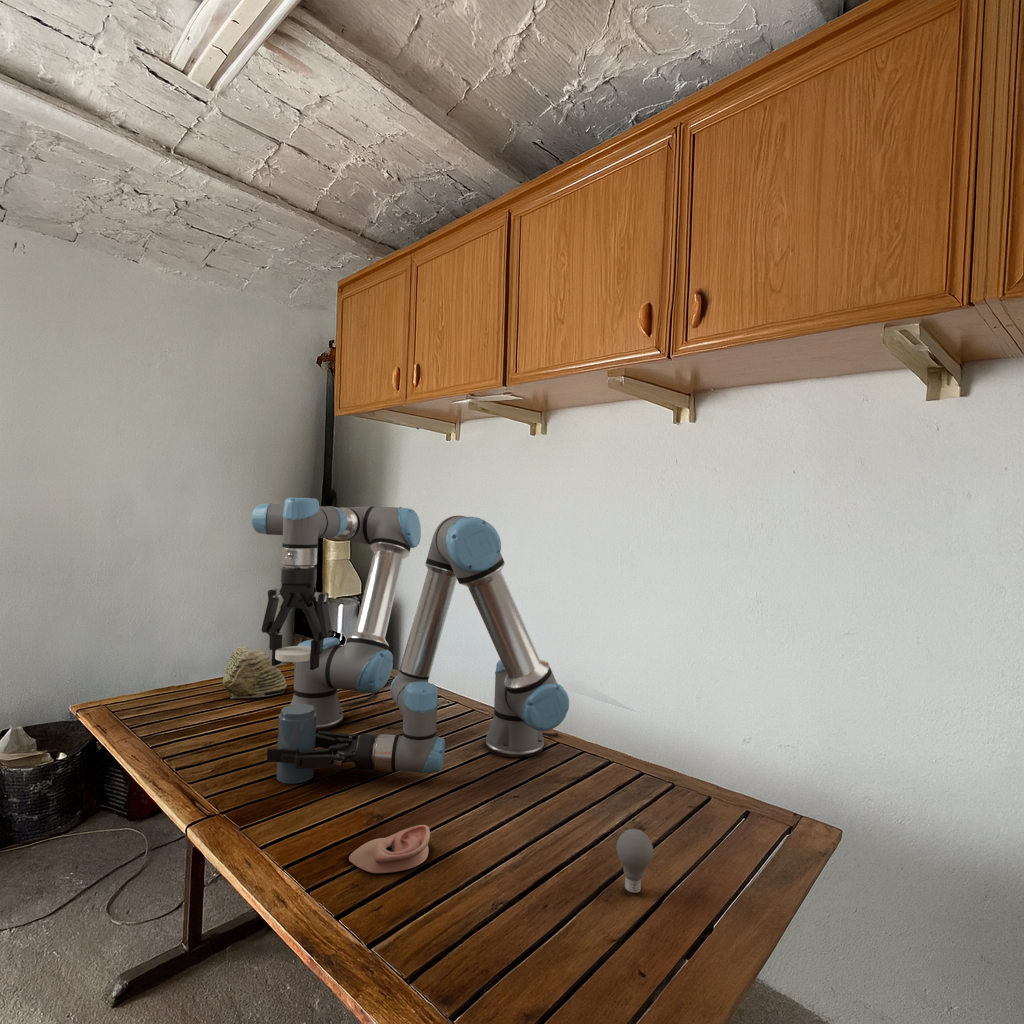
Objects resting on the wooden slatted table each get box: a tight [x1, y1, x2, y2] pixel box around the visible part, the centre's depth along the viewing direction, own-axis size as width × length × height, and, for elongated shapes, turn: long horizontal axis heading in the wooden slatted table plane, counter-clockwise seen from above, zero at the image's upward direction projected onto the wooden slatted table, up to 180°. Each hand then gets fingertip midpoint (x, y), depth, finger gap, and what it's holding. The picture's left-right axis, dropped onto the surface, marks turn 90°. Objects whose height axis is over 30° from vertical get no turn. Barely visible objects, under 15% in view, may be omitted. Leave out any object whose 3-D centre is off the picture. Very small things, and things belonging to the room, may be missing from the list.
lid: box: [275, 645, 311, 663], centre depth 142 cm, size 9×9×2 cm
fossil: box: [222, 646, 288, 699], centre depth 198 cm, size 9×18×15 cm, turn 132°
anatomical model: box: [348, 824, 431, 874], centre depth 113 cm, size 13×4×12 cm
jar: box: [275, 704, 317, 785], centre depth 143 cm, size 8×8×15 cm
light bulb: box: [615, 828, 654, 894], centre depth 106 cm, size 6×6×10 cm
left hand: (295, 666), depth 143 cm, fingers closed on lid, 9 cm apart
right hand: (275, 747), depth 143 cm, fingers closed on jar, 8 cm apart
